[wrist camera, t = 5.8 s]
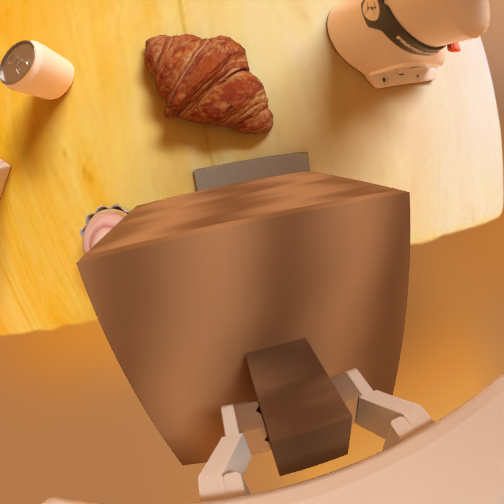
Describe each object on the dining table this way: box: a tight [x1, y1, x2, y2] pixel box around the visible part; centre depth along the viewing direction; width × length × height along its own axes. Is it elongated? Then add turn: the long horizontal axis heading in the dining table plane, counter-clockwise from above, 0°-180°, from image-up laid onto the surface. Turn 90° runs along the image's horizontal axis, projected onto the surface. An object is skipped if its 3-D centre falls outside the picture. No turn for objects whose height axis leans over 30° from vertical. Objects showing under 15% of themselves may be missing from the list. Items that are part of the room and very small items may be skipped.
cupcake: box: [80, 204, 131, 254], centre depth 35 cm, size 9×9×10 cm
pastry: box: [145, 34, 273, 134], centre depth 32 cm, size 17×15×8 cm
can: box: [0, 40, 74, 100], centre depth 25 cm, size 6×6×12 cm
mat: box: [194, 152, 310, 191], centre depth 42 cm, size 16×16×1 cm
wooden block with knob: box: [77, 171, 410, 476], centre depth 17 cm, size 14×14×18 cm
